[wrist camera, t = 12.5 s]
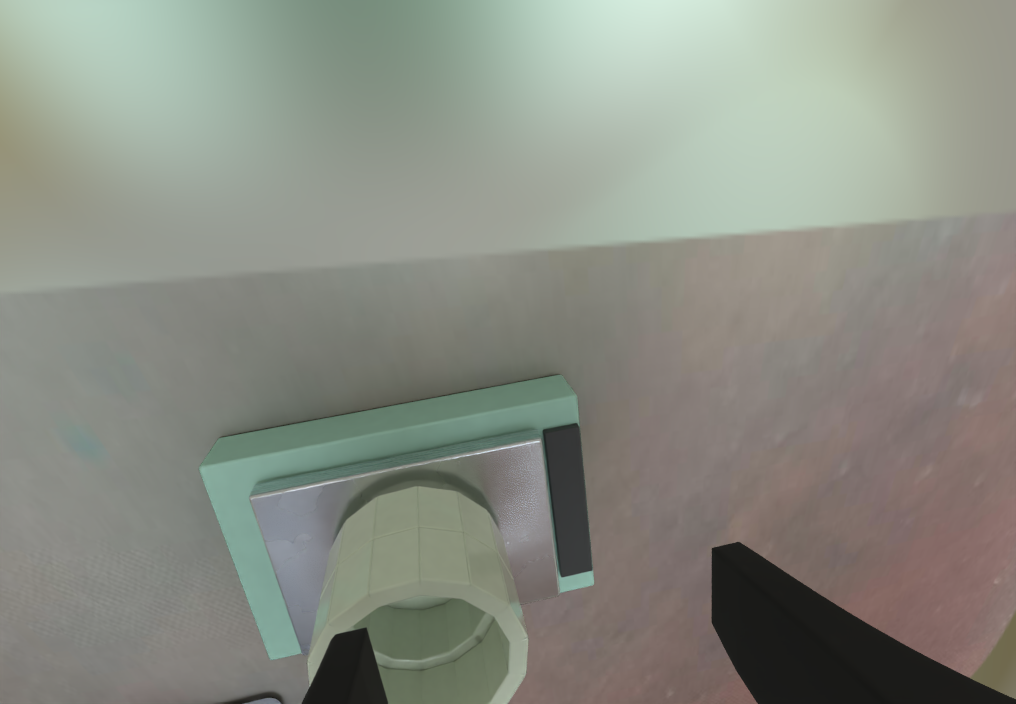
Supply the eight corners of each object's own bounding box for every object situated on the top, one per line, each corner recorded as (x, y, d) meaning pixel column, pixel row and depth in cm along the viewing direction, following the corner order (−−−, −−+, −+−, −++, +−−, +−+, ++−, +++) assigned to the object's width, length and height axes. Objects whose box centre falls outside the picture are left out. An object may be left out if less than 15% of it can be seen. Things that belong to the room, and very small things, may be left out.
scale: (281, 618, 21) (267, 669, 19) (218, 437, 19) (193, 473, 16) (579, 551, 23) (597, 591, 21) (561, 373, 20) (580, 398, 18)
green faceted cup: (383, 642, 19) (377, 779, 15) (298, 524, 17) (261, 644, 13) (526, 573, 19) (559, 691, 15) (457, 448, 17) (473, 542, 13)
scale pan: (306, 638, 19) (302, 657, 19) (254, 482, 17) (246, 497, 16) (555, 580, 20) (561, 596, 20) (536, 426, 18) (542, 438, 17)
